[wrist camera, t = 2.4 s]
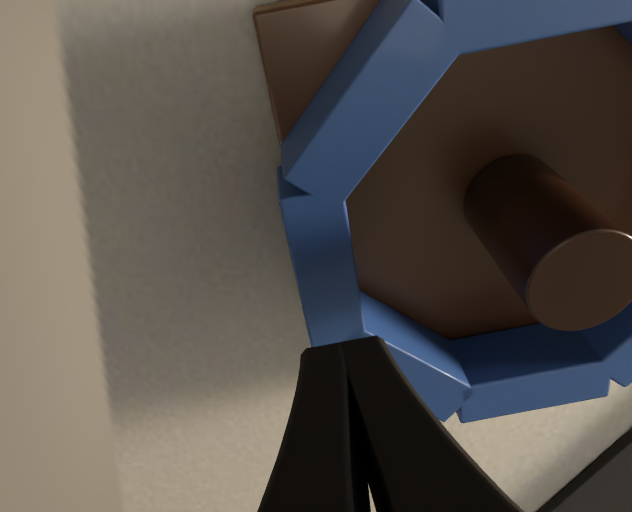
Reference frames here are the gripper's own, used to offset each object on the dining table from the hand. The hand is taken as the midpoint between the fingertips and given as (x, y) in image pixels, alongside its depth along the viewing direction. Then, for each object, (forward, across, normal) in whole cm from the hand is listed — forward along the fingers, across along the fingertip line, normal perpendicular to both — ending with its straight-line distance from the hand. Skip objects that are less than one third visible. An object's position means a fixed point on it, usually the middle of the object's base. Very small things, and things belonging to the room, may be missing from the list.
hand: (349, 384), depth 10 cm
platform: (+6, -5, 0) cm, 8 cm away
